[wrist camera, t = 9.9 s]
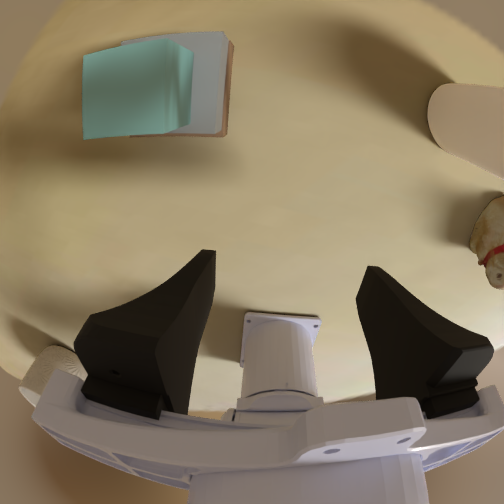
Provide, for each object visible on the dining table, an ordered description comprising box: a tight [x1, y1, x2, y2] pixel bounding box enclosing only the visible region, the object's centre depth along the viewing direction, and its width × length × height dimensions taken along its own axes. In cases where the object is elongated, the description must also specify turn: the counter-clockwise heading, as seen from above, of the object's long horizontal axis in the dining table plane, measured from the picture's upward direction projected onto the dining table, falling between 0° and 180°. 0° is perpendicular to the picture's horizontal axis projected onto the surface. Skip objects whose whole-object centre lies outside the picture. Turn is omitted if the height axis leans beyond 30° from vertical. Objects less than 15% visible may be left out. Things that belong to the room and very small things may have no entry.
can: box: [427, 83, 504, 180], centre depth 11 cm, size 6×6×12 cm
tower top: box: [121, 32, 229, 134], centre depth 14 cm, size 6×6×2 cm
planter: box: [19, 345, 88, 407], centre depth 33 cm, size 12×12×11 cm
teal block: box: [82, 38, 194, 140], centre depth 12 cm, size 4×4×4 cm
